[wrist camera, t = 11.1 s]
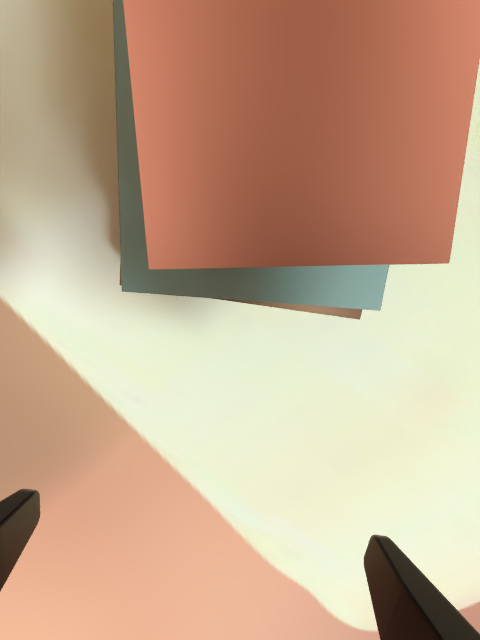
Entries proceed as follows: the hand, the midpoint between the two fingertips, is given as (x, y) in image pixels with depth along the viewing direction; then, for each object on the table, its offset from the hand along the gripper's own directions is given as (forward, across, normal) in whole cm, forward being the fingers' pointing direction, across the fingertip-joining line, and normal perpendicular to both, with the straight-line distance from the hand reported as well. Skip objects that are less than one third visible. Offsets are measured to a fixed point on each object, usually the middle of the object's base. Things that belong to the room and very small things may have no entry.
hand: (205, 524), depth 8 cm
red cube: (+3, 0, -9) cm, 10 cm away
